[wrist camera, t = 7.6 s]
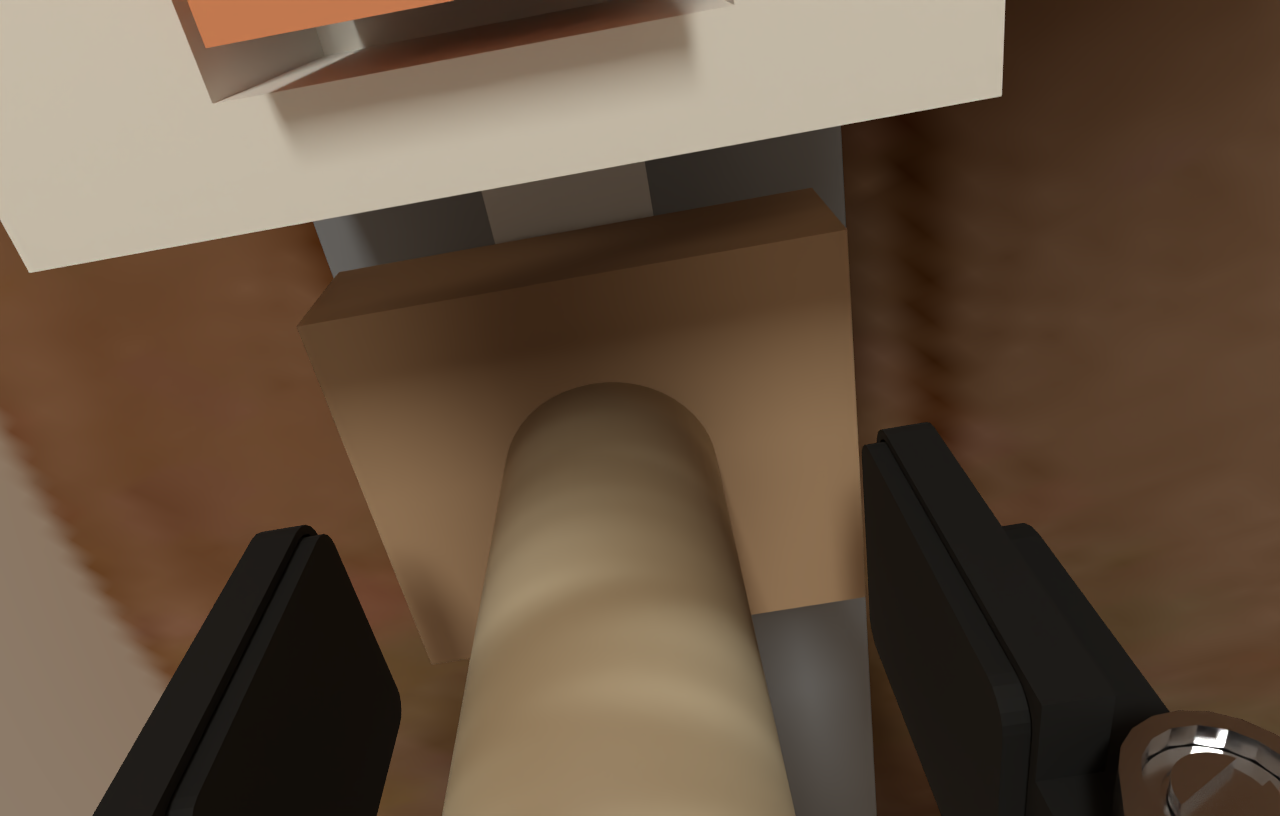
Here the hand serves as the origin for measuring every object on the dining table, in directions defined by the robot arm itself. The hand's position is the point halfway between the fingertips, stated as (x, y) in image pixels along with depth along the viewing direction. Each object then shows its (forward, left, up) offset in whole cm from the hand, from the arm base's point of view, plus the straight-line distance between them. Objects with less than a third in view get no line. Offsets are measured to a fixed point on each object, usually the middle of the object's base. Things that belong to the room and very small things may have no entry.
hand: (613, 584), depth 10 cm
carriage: (0, 0, -4) cm, 4 cm away
